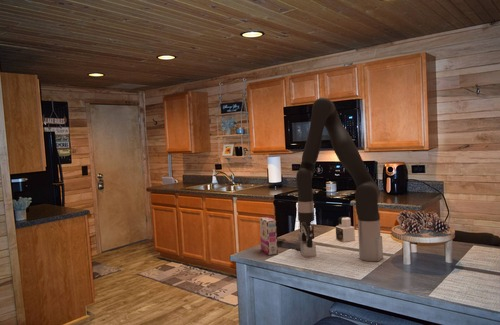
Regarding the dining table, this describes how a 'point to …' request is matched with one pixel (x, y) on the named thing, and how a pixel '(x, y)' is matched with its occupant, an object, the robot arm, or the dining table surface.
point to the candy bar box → (268, 235)
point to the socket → (308, 249)
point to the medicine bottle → (345, 230)
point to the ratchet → (290, 243)
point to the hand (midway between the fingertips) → (307, 244)
